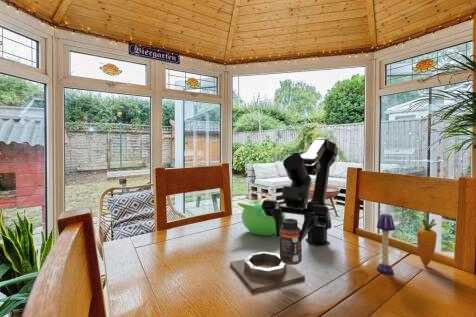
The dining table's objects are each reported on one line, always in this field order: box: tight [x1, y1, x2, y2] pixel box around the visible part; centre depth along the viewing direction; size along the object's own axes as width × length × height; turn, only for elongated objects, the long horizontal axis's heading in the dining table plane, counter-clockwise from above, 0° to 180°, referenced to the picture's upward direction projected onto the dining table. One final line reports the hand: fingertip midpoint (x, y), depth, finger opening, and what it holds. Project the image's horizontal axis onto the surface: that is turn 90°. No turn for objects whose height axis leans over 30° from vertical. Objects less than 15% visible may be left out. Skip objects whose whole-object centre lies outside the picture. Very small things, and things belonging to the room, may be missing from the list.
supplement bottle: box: [278, 218, 303, 266], centre depth 72 cm, size 6×6×11 cm
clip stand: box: [229, 258, 306, 294], centre depth 77 cm, size 16×16×1 cm
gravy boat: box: [237, 197, 286, 236], centre depth 108 cm, size 18×17×15 cm
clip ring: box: [244, 251, 287, 280], centre depth 77 cm, size 12×12×2 cm
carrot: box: [416, 217, 437, 267], centre depth 80 cm, size 5×5×15 cm
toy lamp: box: [376, 213, 396, 275], centre depth 77 cm, size 5×5×17 cm
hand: (288, 238), depth 71 cm, fingers closed on supplement bottle, 6 cm apart
